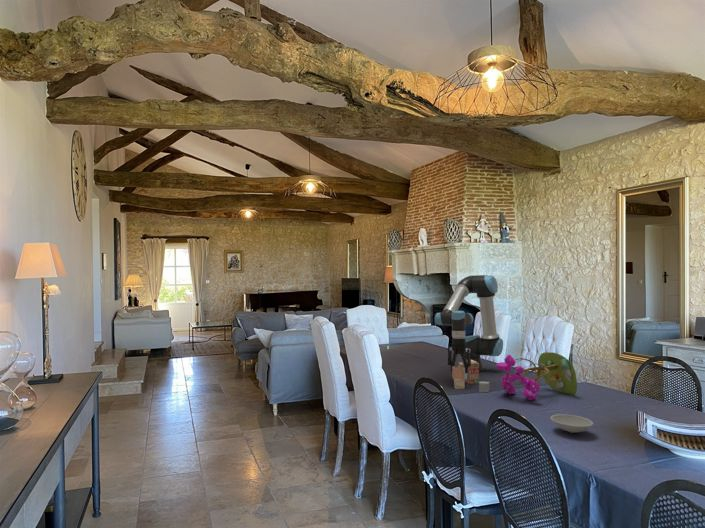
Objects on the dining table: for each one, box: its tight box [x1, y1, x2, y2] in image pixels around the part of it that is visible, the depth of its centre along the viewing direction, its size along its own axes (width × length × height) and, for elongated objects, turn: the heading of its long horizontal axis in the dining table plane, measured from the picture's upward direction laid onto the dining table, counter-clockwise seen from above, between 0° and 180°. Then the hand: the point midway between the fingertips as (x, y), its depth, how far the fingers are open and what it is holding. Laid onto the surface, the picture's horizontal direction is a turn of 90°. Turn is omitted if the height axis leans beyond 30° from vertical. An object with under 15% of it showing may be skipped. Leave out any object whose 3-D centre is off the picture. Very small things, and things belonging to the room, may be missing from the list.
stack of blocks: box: [457, 359, 480, 385], centre depth 308 cm, size 21×6×12 cm, turn 6°
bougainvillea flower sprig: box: [495, 351, 578, 401], centre depth 265 cm, size 30×28×35 cm
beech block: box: [453, 379, 466, 390], centre depth 289 cm, size 9×6×5 cm, turn 164°
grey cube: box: [478, 380, 490, 394], centre depth 277 cm, size 5×5×5 cm
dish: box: [550, 413, 594, 434], centre depth 202 cm, size 18×14×5 cm
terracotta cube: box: [451, 366, 464, 380], centre depth 289 cm, size 6×6×6 cm
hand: (459, 378), depth 289 cm, fingers closed on terracotta cube, 6 cm apart
